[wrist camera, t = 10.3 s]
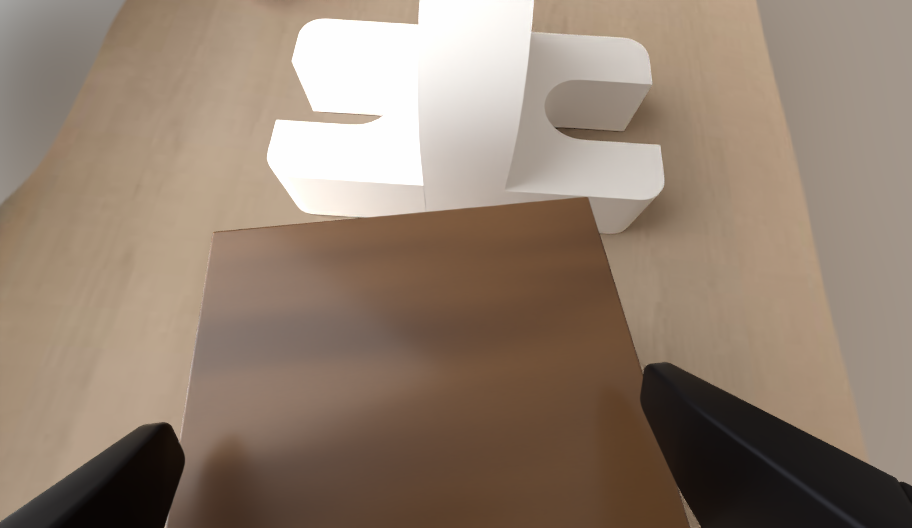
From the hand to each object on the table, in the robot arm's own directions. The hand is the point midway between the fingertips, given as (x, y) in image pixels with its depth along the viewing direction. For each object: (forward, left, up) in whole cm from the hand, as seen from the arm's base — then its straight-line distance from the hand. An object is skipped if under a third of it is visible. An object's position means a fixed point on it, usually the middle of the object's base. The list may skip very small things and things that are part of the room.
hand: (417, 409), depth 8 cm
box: (-3, -1, -6) cm, 7 cm away
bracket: (+15, +1, -13) cm, 20 cm away
